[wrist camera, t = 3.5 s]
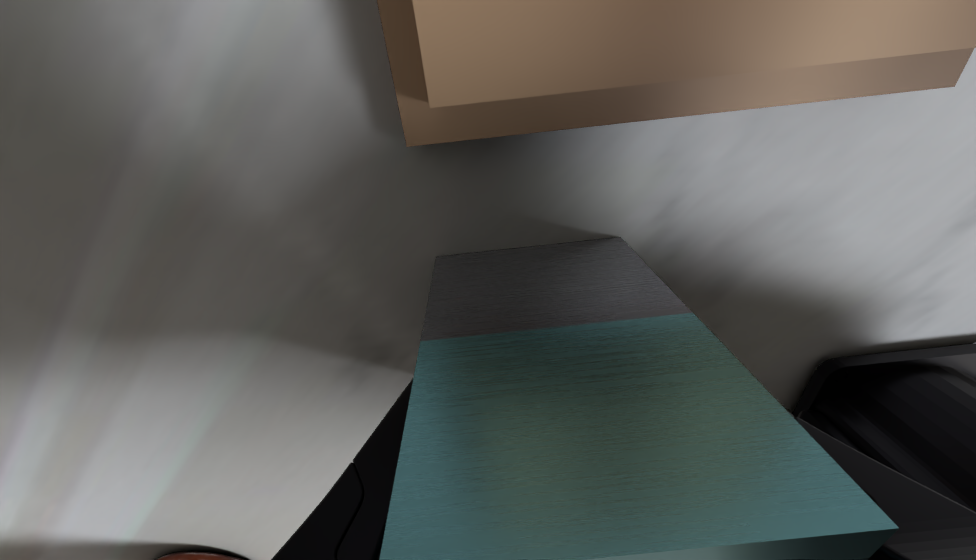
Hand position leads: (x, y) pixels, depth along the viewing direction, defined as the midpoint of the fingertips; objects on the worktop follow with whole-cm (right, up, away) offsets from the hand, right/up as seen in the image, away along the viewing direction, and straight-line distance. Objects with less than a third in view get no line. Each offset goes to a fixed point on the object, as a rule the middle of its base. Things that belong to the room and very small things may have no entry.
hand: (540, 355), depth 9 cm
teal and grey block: (0, +1, +1) cm, 2 cm away
